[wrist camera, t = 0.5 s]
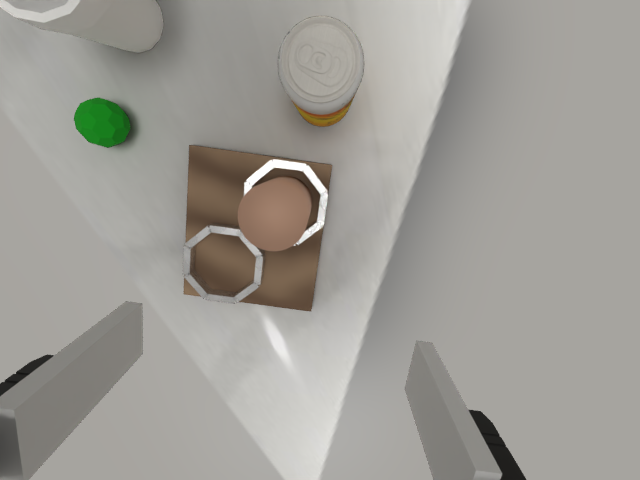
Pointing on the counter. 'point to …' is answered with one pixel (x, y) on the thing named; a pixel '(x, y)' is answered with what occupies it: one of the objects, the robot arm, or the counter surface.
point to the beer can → (321, 68)
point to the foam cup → (95, 20)
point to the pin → (275, 213)
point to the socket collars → (236, 231)
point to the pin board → (222, 207)
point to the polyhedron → (102, 122)
